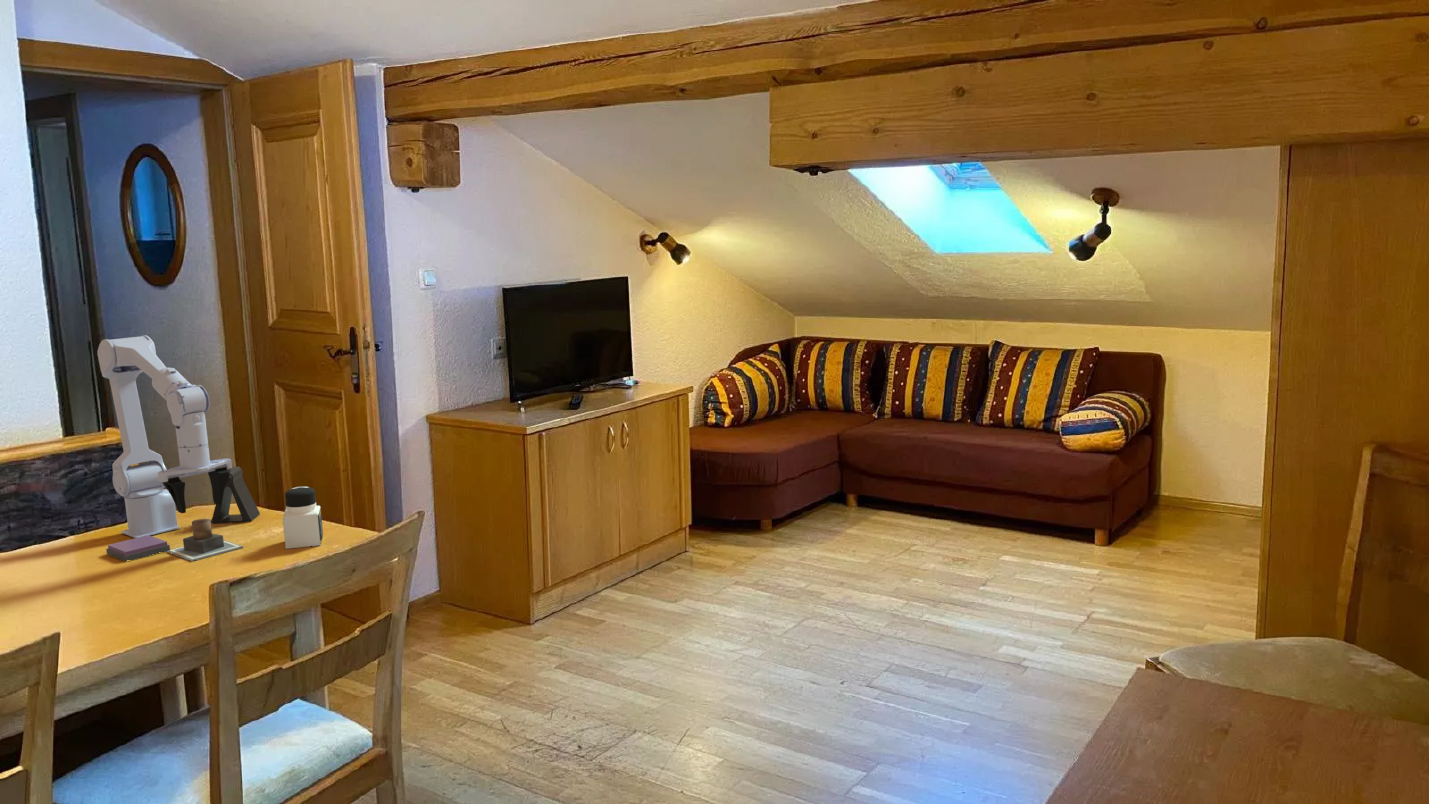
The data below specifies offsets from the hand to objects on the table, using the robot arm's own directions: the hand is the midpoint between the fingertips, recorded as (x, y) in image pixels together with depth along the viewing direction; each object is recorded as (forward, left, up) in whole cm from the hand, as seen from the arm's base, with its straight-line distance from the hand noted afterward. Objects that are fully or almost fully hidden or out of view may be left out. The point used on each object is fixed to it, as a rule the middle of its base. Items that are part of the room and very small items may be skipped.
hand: (200, 508), depth 225 cm
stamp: (0, 0, -9) cm, 9 cm away
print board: (0, 0, -9) cm, 9 cm away
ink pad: (+9, -10, -9) cm, 17 cm away
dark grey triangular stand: (-16, -17, -9) cm, 25 cm away
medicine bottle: (-15, +14, -9) cm, 22 cm away
